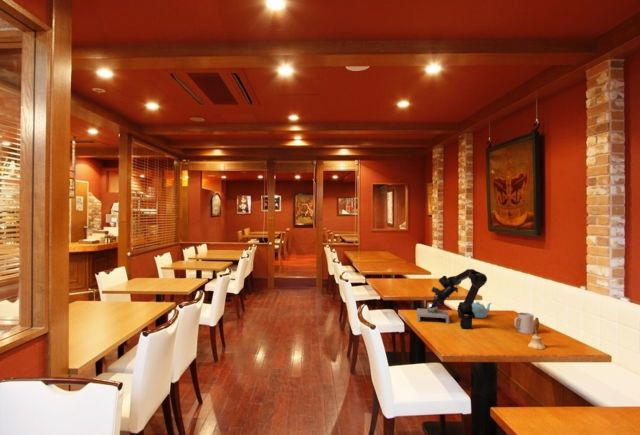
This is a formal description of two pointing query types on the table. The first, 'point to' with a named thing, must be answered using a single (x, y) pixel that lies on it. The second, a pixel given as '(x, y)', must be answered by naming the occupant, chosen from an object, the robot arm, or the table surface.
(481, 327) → the table surface
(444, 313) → the base
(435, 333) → the table surface
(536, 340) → the hand bell
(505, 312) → the table surface
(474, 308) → the teapot
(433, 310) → the grey beige cylinder
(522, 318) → the mug
